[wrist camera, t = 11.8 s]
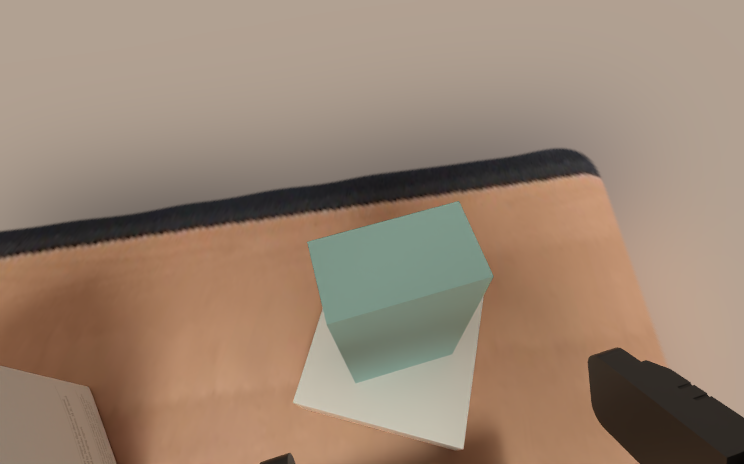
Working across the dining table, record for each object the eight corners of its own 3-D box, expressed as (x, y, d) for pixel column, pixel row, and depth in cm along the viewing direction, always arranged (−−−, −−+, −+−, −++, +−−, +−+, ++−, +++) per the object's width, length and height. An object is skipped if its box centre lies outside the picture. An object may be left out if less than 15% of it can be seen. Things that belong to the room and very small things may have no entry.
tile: (303, 409, 25) (293, 402, 22) (345, 272, 29) (340, 253, 26) (455, 450, 23) (463, 449, 21) (476, 300, 28) (485, 283, 25)
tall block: (452, 354, 23) (493, 276, 13) (355, 383, 23) (326, 324, 13) (433, 303, 24) (458, 200, 15) (342, 330, 24) (307, 241, 14)
